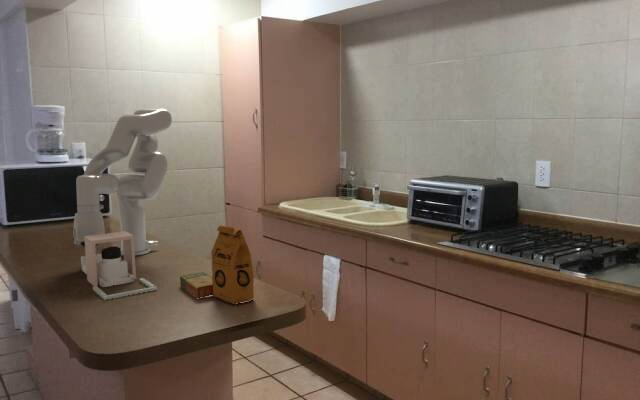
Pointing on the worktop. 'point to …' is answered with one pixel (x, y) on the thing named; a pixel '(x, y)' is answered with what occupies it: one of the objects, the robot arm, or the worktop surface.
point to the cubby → (104, 238)
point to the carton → (197, 284)
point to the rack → (102, 281)
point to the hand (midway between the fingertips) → (90, 258)
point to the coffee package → (232, 267)
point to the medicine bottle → (112, 265)
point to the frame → (147, 283)
